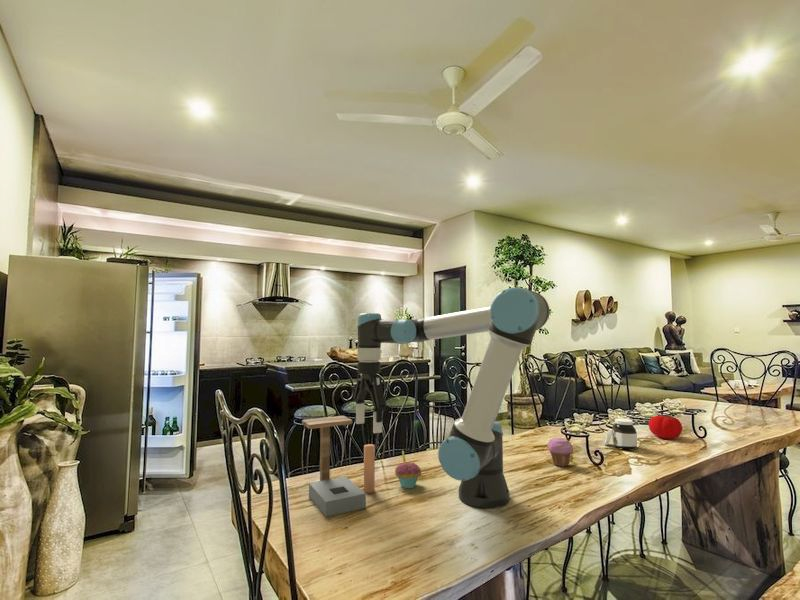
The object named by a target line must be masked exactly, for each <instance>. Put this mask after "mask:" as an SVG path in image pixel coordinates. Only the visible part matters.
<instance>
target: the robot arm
mask: <svg viewBox="0 0 800 600" xmlns="http://www.w3.org/2000/svg"><path fill="white" fill-rule="evenodd" d="M549 316H550V306H549V303H548V301H547V300H546V297H544V296H543V295H541V293H539V292H536V291H533V290H530V289H527V288H525V287H524V288H523V287H520V286H518V287H516V286H515V287H509V288H506V289H503V290H501V291H500V292H499V293H497V294H496V295H495V296H494V298H493V300H492V301H491V304H490V305H489V306H485V307H484V306H483V307H477V308H472V309H468V310H461V311H456V312H450V313H445V314H440V315H434V316H429V317H423V318H417V319H406V318H394V319H393V318H392V319H382V315H381V314H380V313H379V312H378V313H375V312H372V313H371V312H369V313H368V312H366V313H365V312H363V313H360V314H359V315H358V317H357V318H358V320H357V326H356V327H357V352H356V353H357V354H356V357H357V358H356V359H357V361H358V362H357V363H356V364H357V369H356V370H357V371H356V373H358V374H357V378H356V383H355V389H354V393H353V398H352V399H353V401H354V402H355V404H356V407H355V410H356V411H355V415H356V416H355V421H356V422H355V424H356V425H361V424H365V413H366V412H365V407H366V406H365V403H366V401H365V398H366V396H367V394H369V395H370V398H371V403H372V405H373V410H372V412H373V413H372V415H373V417H372V419H373V420H372V425H373V427H372V432H373V434H380V433H383V412H384V411H386V410H387V405H386V400H385V394H384V390H383V384H382V383H383V382H382V377H377V375H378V374H380V373H382V369H381V367H382V365H381V361H380V360H381V359H382V358H381V354H382V350H381V349H382V347H381V346H382V344H399V345H405V344H411V343H423V342H426V341H427V342H428V341H430V340H431V341H432V340H439V339H444V338H453V337H459V336H460V337H461V336H465V335H472V334H480V333H486V332H488V334H489V336H490V339H489V342H488V345H487V347H486V350H485V353H484V356H483V359H482V361H481V363H480V367H479V369H478V372H477V375H476V377H475V380H474V383H473V385H472V388H471V391H470V394H469V396H468V399H467V402H466V404H465V407H464V410H463V413H462V416H461V417H458V418H457V419H456V418H455V419H454V422H453V424H452V427H451V430H450V432H449V435H448V436H447V437H446V438H445V439H444V440H442V442H441V443H440V444H439V447H438V451H437V457H438V458H437V459H438V462H439V463H440V465H441V468H442V470H443V471H444V472H445V473H446V475H447V476H449V477H450V478H452V479H453V480H456V481H460V485H459V486H458V499H459V500H460V501H461V502H462V503H464V504H466V505H469V506H471V507H475V508H482V509H495V508H501V507H502V508H503V507H504V506H507V505H508V504H509V503H510V499H511V498H510V495H511V494H510V489H509V487H508V483H507V480H506V477H505V475H504V457H503V455H504V452H503V449H504V448H503V446H504V445H503V443H504V442H503V435H504V433H503V427H502V426H503V425H502V424H501V423H500V422H498V421H497V420H496V419H497V416H498V414H499V412H500V409H501V407H502V405H503V400H504V398H505V395H506V393H507V390H508V388H509V386H510V383H511V380H512V379H513V375H514V372H515V370H516V367H517V364H518V362H519V358H520V356H521V353H522V350H524V349H525V348H529V347H530V346H531V344H532V342H533V340H534V336H535V334H536V332H537V331H538V330H540V329H542V327H543V326H544V325H546V323H547V322H548V320H549V318H550V317H549ZM544 327H545V326H544Z"/></svg>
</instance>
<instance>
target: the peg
mask: <svg viewBox="0 0 800 600" xmlns="http://www.w3.org/2000/svg"><path fill="white" fill-rule="evenodd" d="M375 446H376V445H375V444H372V443H371V444H370V443H368V444H364V445H363V491H364V492H365V493H366V494H373V493H375V490H376V488H375V483H376V481H375V479H376V478H375V475H376V473H375V472H376V471H375V469H376V467H375V466H376V465H375V464H376V463H375V461H376V460H375V459H376V458H375V457H376V456H375V454H376V451H375V449H376V448H375Z"/></svg>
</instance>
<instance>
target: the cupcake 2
mask: <svg viewBox="0 0 800 600" xmlns="http://www.w3.org/2000/svg"><path fill="white" fill-rule="evenodd" d="M547 449H548V451H549V452H550V453H549V454H550V456H551V459H552V463H553V465H554V466H558V467H562V468H563V467H566V466H569V465H570V462H571V454H572V453H573V451H574V447H573V444H572V443H571V442H570V441H569V440H567V439H566V438H564V437H553V438H550V439H549V441H548V443H547Z"/></svg>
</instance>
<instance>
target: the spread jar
mask: <svg viewBox="0 0 800 600" xmlns="http://www.w3.org/2000/svg"><path fill="white" fill-rule="evenodd" d="M611 439H612V442H613V445H614V447H615V446H616V447H615V448H617V447H618V448H617V449H619V448H622V449H621V450H623V449H633V450H635V449H636V448H637V447H638V433H637V430H636V427H635V426H634V421H633V420H632V419H629V418H614V424H613V426H612V430H611V429H608V431H607V433H606V436H605V440H604V443H603V444H604V445H605V446H607V445H608V446H609V443H610V442H611Z"/></svg>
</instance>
